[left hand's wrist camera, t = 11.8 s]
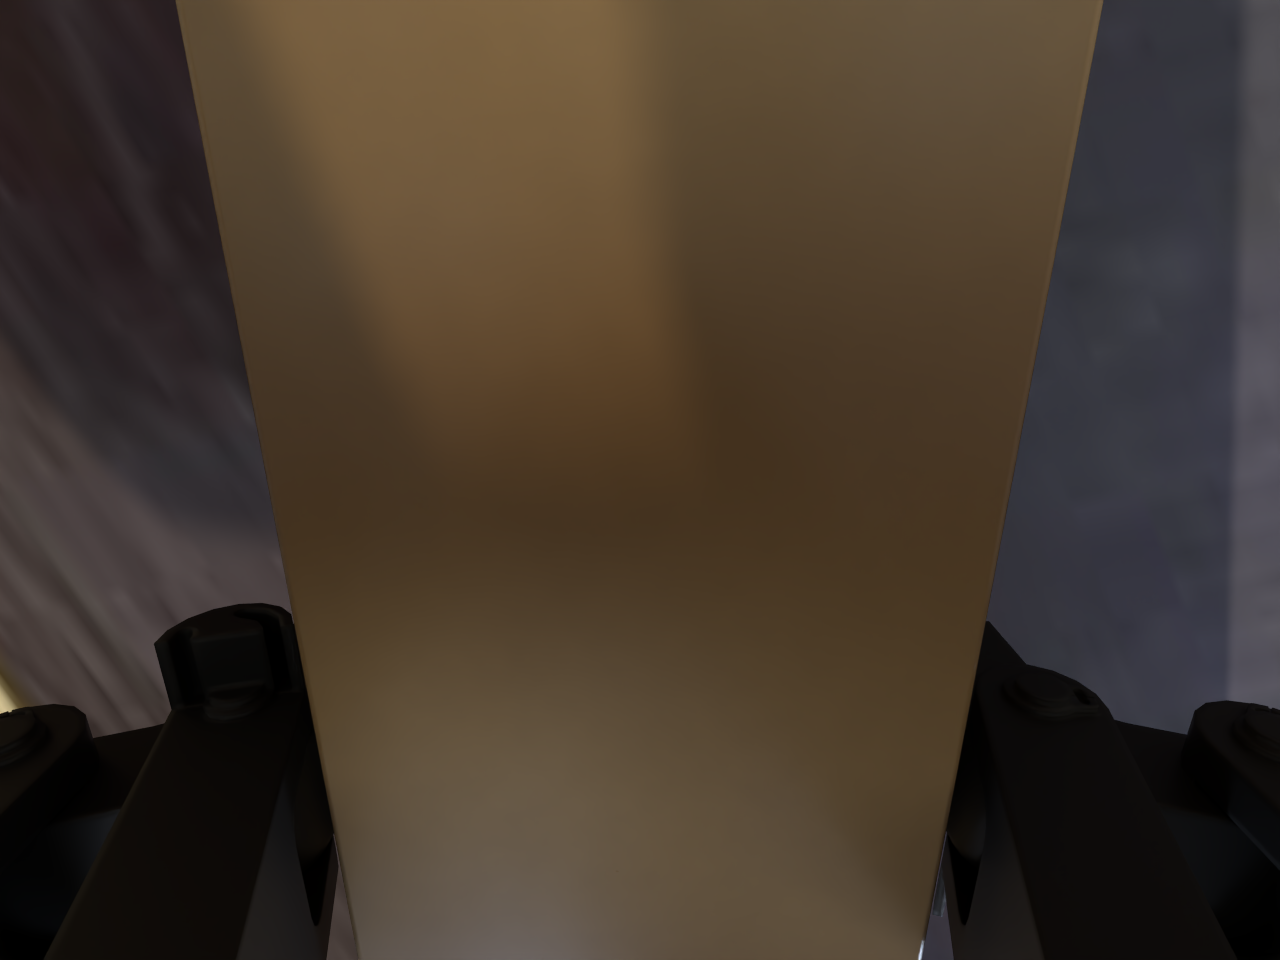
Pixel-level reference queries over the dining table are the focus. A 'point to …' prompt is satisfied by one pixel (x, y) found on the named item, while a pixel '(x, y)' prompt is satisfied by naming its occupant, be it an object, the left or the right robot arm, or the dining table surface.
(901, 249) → the bar
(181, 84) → the dining table surface
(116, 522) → the dining table surface
